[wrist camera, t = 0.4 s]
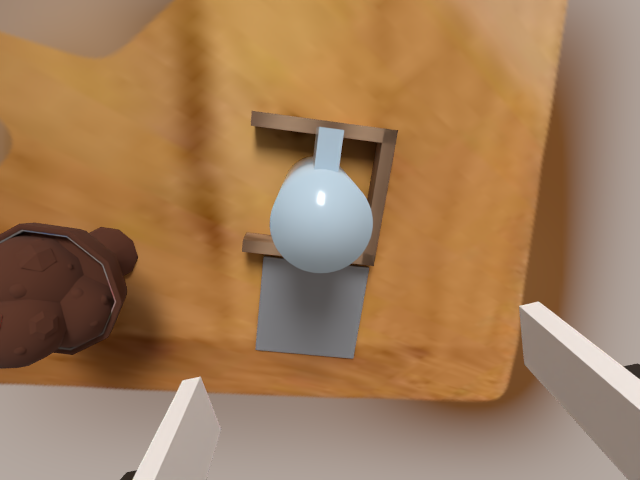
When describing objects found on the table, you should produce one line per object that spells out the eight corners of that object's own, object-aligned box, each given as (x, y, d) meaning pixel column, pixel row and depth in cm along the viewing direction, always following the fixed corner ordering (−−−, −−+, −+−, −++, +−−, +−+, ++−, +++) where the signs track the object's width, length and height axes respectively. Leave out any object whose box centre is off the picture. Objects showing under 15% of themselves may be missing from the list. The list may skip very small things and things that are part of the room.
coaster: (255, 348, 41) (255, 349, 41) (263, 255, 38) (263, 256, 38) (352, 356, 42) (353, 358, 42) (368, 267, 39) (369, 268, 39)
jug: (280, 216, 37) (265, 267, 24) (289, 123, 34) (278, 121, 21) (343, 224, 37) (364, 278, 24) (357, 132, 35) (388, 135, 22)
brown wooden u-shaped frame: (246, 243, 38) (242, 251, 35) (255, 112, 34) (251, 110, 32) (369, 257, 39) (373, 265, 36) (391, 130, 35) (397, 130, 33)
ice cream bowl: (185, 272, 38) (113, 359, 24) (96, 317, 40) (-24, 425, 25) (124, 181, 36) (1, 218, 21) (30, 232, 37) (-148, 300, 22)
